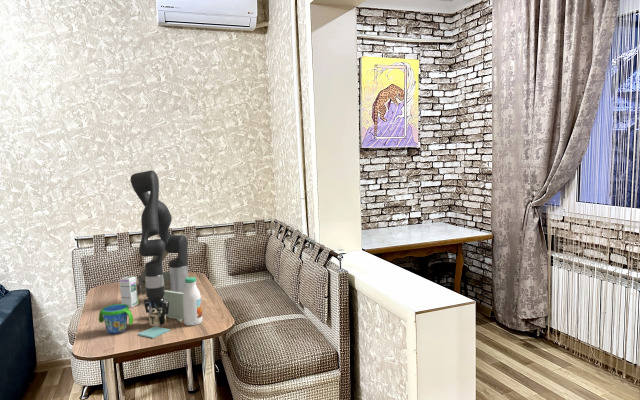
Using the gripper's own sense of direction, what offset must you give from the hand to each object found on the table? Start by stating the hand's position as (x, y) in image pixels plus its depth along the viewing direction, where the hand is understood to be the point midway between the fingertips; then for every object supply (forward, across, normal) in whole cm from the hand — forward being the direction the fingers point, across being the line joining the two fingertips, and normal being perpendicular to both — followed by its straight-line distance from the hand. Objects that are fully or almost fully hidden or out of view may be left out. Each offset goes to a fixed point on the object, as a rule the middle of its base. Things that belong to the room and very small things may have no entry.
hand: (157, 323), depth 197 cm
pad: (0, -7, +8) cm, 11 cm away
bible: (+1, +50, -43) cm, 66 cm away
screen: (0, 0, -9) cm, 9 cm away
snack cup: (+1, +10, +13) cm, 16 cm away
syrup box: (+1, +35, -13) cm, 37 cm away
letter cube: (0, 0, 0) cm, 0 cm away
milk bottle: (+1, -14, -8) cm, 16 cm away
